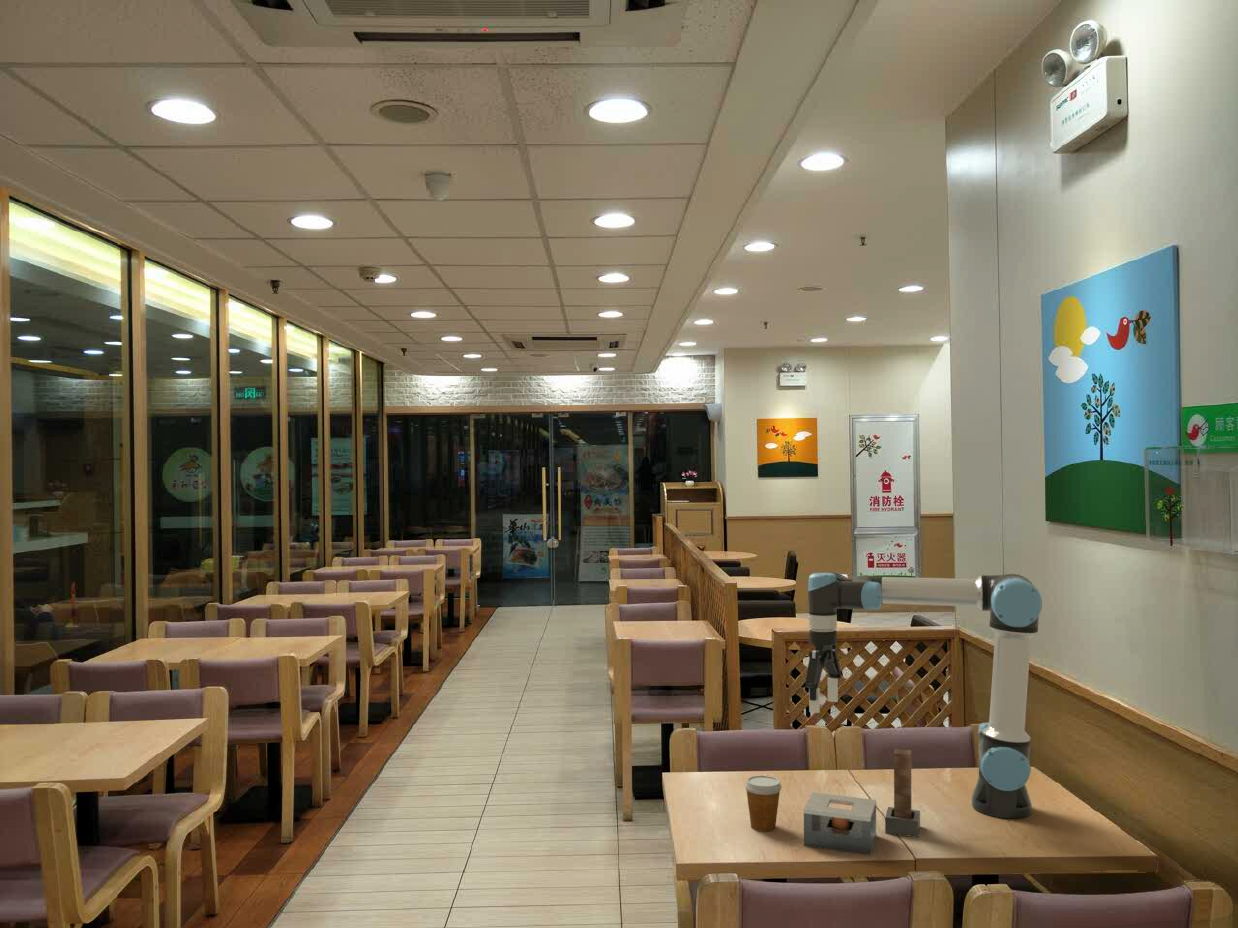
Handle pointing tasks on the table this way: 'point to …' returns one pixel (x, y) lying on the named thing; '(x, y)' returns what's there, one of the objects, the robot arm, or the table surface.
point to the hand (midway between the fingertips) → (823, 706)
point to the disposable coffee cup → (763, 801)
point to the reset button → (840, 823)
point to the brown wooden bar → (902, 784)
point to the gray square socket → (902, 823)
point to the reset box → (840, 839)
